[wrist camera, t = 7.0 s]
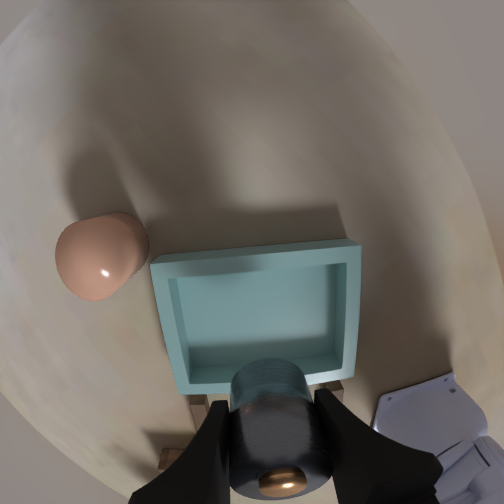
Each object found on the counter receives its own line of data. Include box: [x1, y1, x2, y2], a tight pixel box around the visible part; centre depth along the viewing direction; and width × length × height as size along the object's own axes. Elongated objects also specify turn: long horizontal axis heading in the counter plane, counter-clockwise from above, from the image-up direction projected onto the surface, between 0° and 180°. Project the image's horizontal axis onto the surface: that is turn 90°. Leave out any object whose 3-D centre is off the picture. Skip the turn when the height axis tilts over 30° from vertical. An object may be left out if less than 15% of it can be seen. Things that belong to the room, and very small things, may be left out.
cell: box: [229, 358, 334, 500], centre depth 11 cm, size 4×4×6 cm
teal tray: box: [150, 238, 361, 395], centre depth 19 cm, size 13×10×2 cm
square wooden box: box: [158, 448, 184, 474], centre depth 23 cm, size 6×6×3 cm
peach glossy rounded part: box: [55, 212, 149, 301], centre depth 17 cm, size 5×5×5 cm
